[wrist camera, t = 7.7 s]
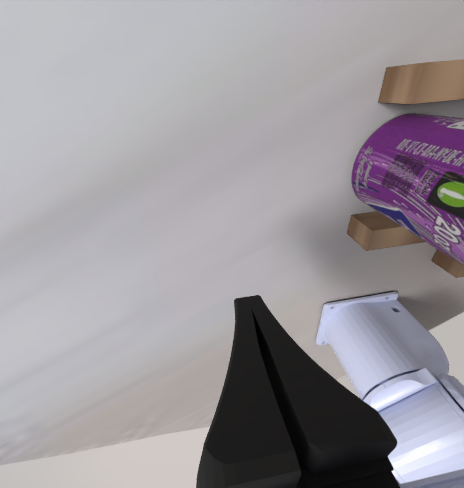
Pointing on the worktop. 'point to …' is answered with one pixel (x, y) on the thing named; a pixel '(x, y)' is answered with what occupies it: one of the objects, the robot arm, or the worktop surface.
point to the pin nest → (410, 92)
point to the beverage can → (417, 178)
